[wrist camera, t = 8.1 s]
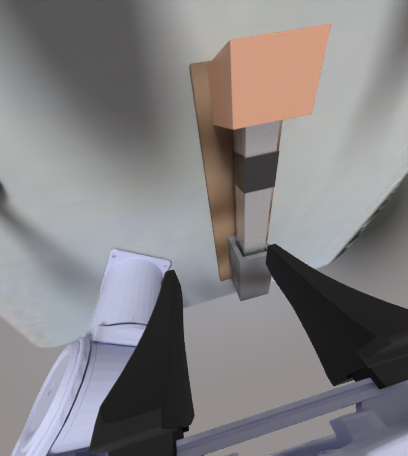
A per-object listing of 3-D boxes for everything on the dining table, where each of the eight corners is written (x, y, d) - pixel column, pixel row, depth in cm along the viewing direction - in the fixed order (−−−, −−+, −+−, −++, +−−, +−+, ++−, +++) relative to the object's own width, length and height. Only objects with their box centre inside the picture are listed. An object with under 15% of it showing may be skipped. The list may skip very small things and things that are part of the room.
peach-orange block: (270, 113, 15) (311, 113, 10) (213, 124, 14) (233, 129, 10) (275, 53, 12) (331, 23, 8) (207, 65, 12) (230, 39, 8)
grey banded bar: (254, 249, 23) (264, 264, 21) (235, 254, 23) (243, 270, 21) (266, 72, 12) (290, 62, 10) (229, 78, 12) (245, 70, 9)
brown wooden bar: (261, 267, 29) (278, 293, 25) (220, 278, 29) (229, 307, 24) (287, 49, 13) (348, 17, 8) (189, 66, 12) (202, 40, 8)
